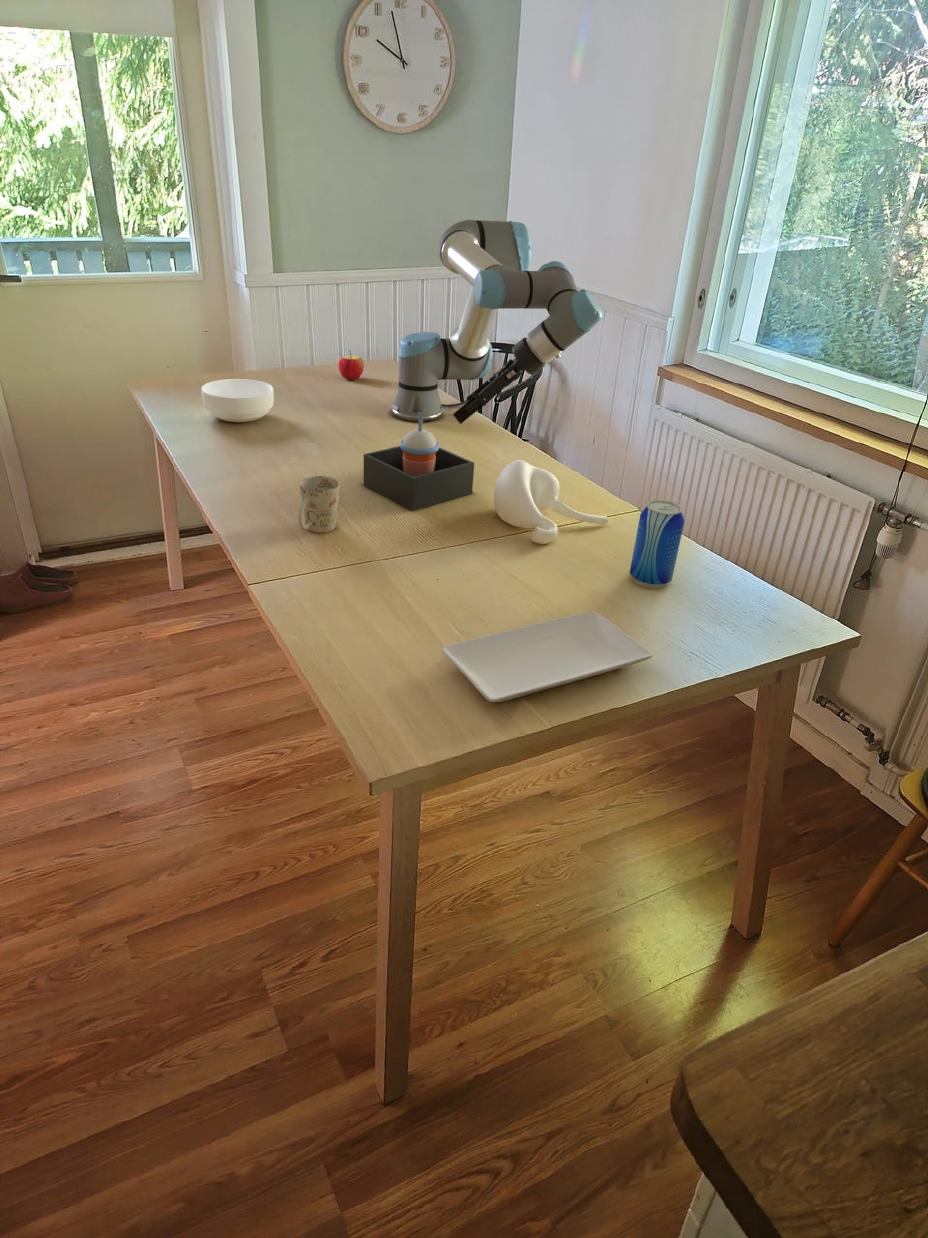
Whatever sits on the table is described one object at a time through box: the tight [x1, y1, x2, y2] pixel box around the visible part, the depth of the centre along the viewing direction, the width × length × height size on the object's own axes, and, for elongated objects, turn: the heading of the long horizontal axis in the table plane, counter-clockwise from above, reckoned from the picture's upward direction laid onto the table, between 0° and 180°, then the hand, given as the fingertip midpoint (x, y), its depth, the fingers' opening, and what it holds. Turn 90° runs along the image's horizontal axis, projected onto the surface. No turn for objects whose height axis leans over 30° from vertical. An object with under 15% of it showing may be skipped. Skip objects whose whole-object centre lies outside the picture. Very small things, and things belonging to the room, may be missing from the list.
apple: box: [337, 349, 365, 381], centre depth 280 cm, size 8×8×10 cm
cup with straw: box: [399, 412, 440, 477], centre depth 197 cm, size 9×9×18 cm
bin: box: [363, 445, 475, 511], centre depth 200 cm, size 19×19×8 cm
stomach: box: [493, 459, 609, 545], centre depth 188 cm, size 23×13×24 cm
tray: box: [441, 610, 653, 703], centre depth 137 cm, size 17×32×4 cm, turn 119°
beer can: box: [629, 499, 685, 590], centre depth 164 cm, size 8×8×16 cm
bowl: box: [200, 378, 275, 423], centre depth 238 cm, size 20×20×8 cm
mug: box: [298, 475, 341, 534], centre depth 175 cm, size 8×13×10 cm, turn 161°
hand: (463, 410), depth 190 cm, fingers open, 13 cm apart
